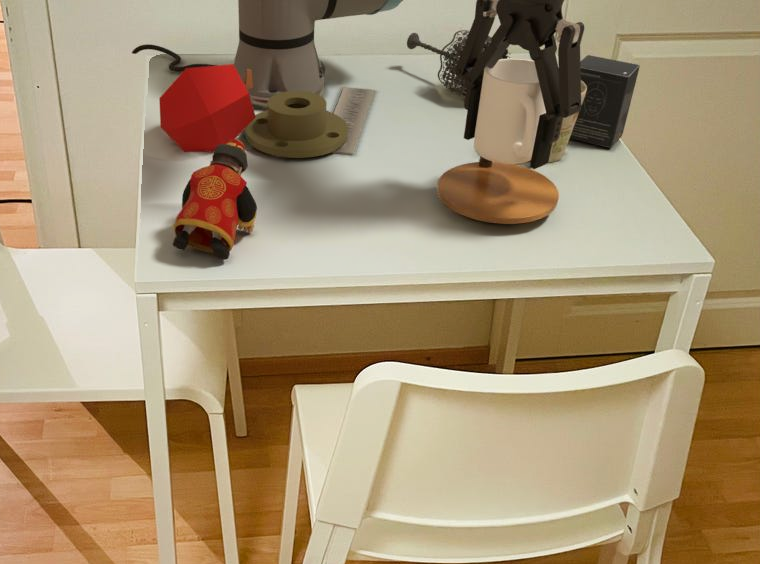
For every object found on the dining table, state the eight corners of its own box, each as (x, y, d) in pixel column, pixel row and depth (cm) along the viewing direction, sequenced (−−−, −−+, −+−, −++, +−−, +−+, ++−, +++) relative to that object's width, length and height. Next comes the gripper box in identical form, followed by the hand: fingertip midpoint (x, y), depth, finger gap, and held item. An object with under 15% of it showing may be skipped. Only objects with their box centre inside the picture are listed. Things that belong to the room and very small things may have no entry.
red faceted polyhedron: (187, 182, 137) (278, 136, 138) (165, 131, 126) (265, 81, 126) (155, 123, 141) (244, 79, 142) (132, 68, 130) (228, 20, 130)
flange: (364, 92, 137) (270, 75, 142) (326, 133, 127) (227, 114, 132) (362, 122, 141) (270, 105, 145) (325, 165, 131) (228, 145, 135)
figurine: (243, 281, 117) (279, 181, 121) (233, 241, 108) (273, 134, 112) (171, 264, 118) (209, 165, 122) (156, 223, 109) (197, 118, 113)
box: (622, 136, 140) (641, 64, 133) (610, 149, 136) (629, 76, 129) (571, 124, 143) (587, 53, 136) (558, 137, 139) (574, 64, 132)
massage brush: (384, 38, 152) (401, 82, 159) (484, 80, 139) (498, 125, 146) (423, -3, 152) (439, 42, 160) (526, 35, 139) (538, 82, 147)
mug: (573, 145, 138) (588, 76, 131) (566, 183, 129) (583, 112, 122) (516, 137, 139) (528, 69, 132) (505, 174, 130) (518, 104, 124)
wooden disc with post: (457, 158, 130) (467, 88, 124) (569, 181, 126) (585, 109, 119) (421, 207, 120) (429, 133, 113) (541, 234, 115) (558, 159, 109)
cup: (527, 136, 124) (542, 57, 117) (555, 177, 115) (573, 95, 108) (466, 138, 123) (477, 59, 116) (489, 179, 114) (502, 97, 107)
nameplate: (352, 152, 134) (318, 149, 135) (352, 154, 134) (318, 151, 135) (374, 89, 151) (343, 87, 152) (374, 91, 151) (343, 88, 152)
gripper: (439, -58, 108) (419, 129, 123) (604, -10, 96) (559, 191, 111) (482, -69, 112) (457, 114, 127) (646, -24, 99) (597, 173, 114)
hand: (504, 150), depth 119 cm, fingers closed on cup, 10 cm apart
